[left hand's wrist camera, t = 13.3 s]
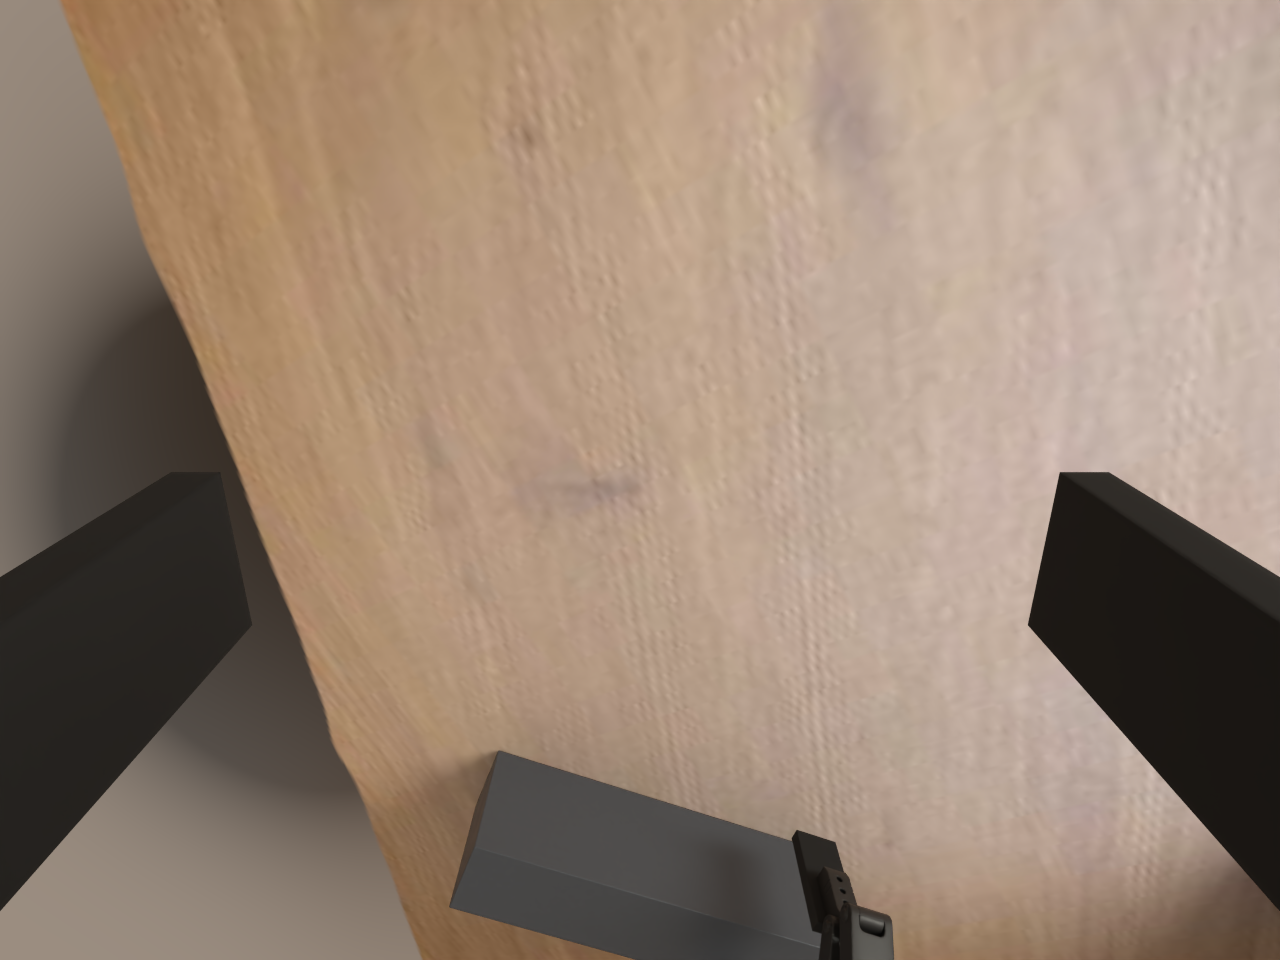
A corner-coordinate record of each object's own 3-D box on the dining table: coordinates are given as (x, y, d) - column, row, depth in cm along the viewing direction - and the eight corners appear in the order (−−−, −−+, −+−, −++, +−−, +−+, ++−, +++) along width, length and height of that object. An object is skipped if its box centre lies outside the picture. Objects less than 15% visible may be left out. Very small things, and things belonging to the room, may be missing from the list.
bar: (476, 805, 53) (449, 907, 46) (498, 750, 51) (474, 846, 44) (790, 899, 56) (813, 1009, 49) (821, 850, 55) (850, 956, 47)
